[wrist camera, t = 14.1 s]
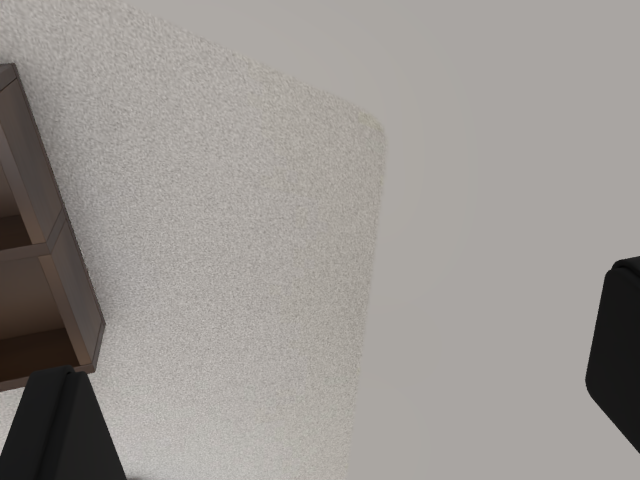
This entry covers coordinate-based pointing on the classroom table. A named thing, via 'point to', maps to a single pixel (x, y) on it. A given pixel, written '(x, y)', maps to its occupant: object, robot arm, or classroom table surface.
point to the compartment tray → (38, 256)
